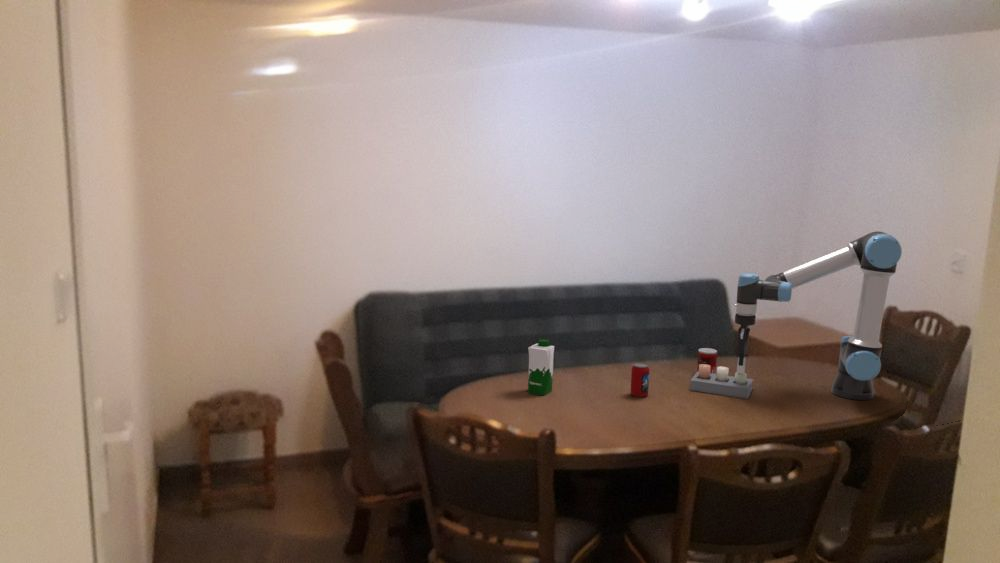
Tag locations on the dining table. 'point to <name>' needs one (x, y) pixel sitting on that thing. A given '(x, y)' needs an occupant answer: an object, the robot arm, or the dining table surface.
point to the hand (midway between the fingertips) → (740, 372)
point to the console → (721, 386)
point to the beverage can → (640, 380)
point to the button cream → (722, 374)
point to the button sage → (740, 378)
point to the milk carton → (540, 368)
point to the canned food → (707, 358)
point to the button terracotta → (704, 371)
